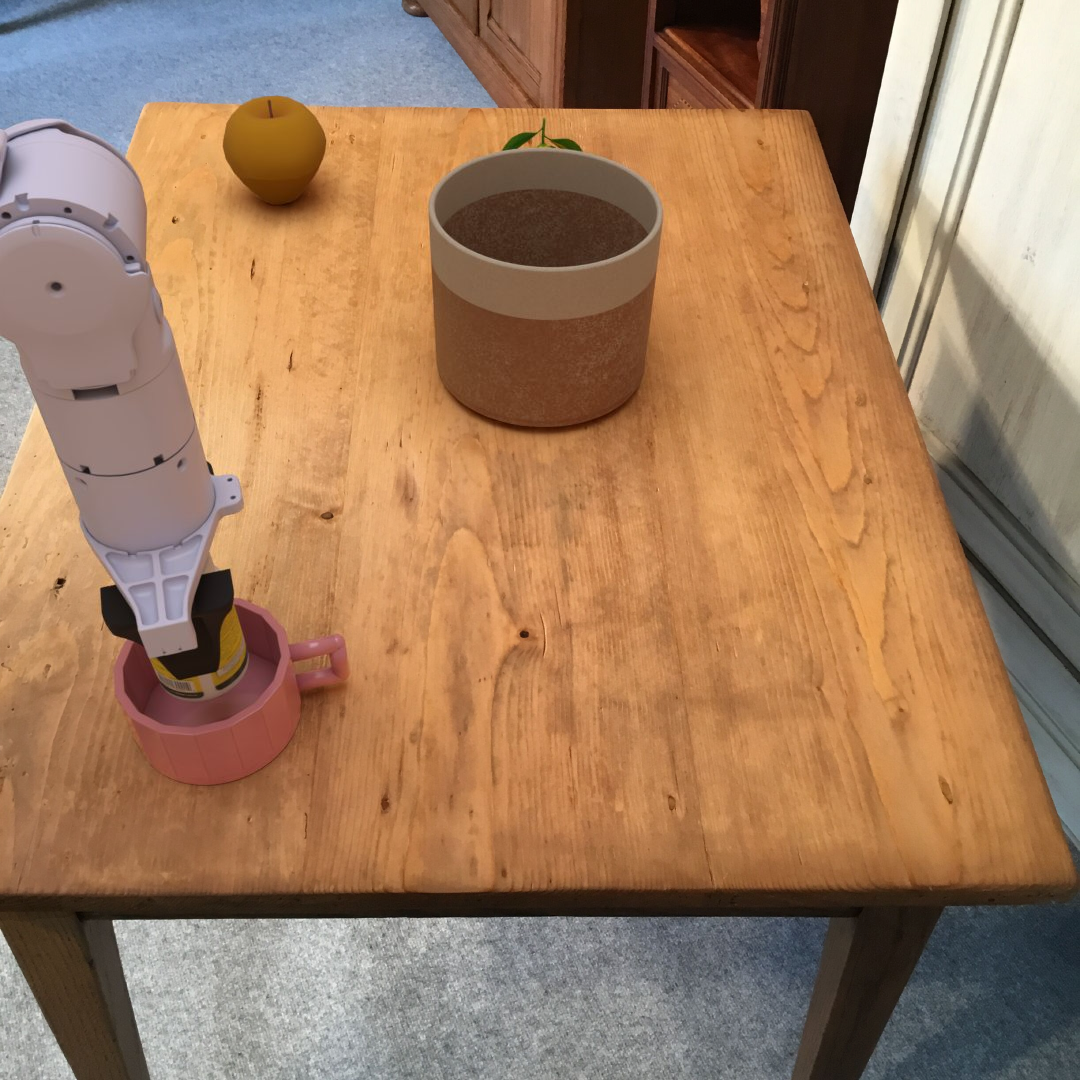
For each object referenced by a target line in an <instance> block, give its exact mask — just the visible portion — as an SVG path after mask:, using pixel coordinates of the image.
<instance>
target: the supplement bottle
mask: <svg viewBox="0 0 1080 1080" xmlns="http://www.w3.org/2000/svg"><path fill="white" fill-rule="evenodd" d="M220 570H221V569H220V568H219V567H218V566H216V565H215V563H214V560H213V558H212V555H211V552H210V551H209V554H208V557H207V560H206V563H205V566H204V569H203V572H202V574H206V573H211V572H216V571H220ZM150 661H151V663H152V666H153V668H154V670H155V673H156V675H157V678H158V680H159V682H160V684H161V686H162V687H163V689H164V690H165V691H166V692H167V693H168V694H170V695H171V696H173V697H175V698H177V699H179V700H182V701H187V702H203V701H208V700H211V699H214V698H217V697H219V696H221V695H223V694H225V693H227V692H228V691H230V690H231V689H233V688H234V687H235V686H236V685H237V684H238V683H239V682H240V681H241V679H242V678H243V677H244V675H245V673H246V670H247V667H248V662H249V656H248V650H247V645H246V642H245V639H244V636H243V633H242V629H241V626H240V622H239V619H238V616H237V612H236V609H235V606H234V602H233V606H232V610H231V611H230V612H229V614H228V615H227V616H226V618H225V620H224V622H223V624H222V627H221V632H220V665H219V669H218V671H217V672H214V673H210V674H205V675H201V676H197V677H192V678H188V679H183V680H178V679H176V678H175V677H174V676H173V675H172V674H171V673H170V672H169V671H168V670H167V669H166V668H165V667H164V666H163V665H162V664H161V663H160V662H159V660H158V659H157V658H156V657H155V658H150Z"/></svg>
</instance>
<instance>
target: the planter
mask: <svg viewBox="0 0 1080 1080" xmlns="http://www.w3.org/2000/svg"><path fill="white" fill-rule="evenodd" d="M427 206H428V211H427V212H428V229H429V244H430V245H429V247H430V248H429V250H430V268H431V269H430V270H431V285H432V304H433V305H432V306H433V322H434V323H433V325H434V344H435V361H436V362H435V363H436V368H437V372H438V375H439V377H440V380H441V381H442V383H443V385H444V386H445V387H446V389H447V390H448V391H449V393H450V394H451V395H452V396H453V397H455V399H457V400H458V401H459V402H460V403H462V404H463V405H464V406H466V407H468V408H469V409H471V410H472V411H475V412H476V413H478V414H480V415H482V416H485V417H487V418H490V419H492V420H496V421H499V422H502V423H507V424H510V425H514V426H515V425H516V426H520V427H521V426H523V427H529V428H530V427H532V428H555V427H566V426H567V427H568V426H572V425H573V426H574V425H578V424H583V423H585V422H589V421H592V420H595V419H597V418H601V417H603V416H604V415H607V414H609V413H610V412H613V411H614V410H616V409H617V408H618V407H620V406H622V405H623V404H624V403H625V402H626V401H628V399H630V398H631V396H632V395H633V394H634V393H635V391H636V390H638V387H639V385H640V384H641V382H642V380H643V377H644V374H645V368H646V360H647V353H648V345H649V337H650V327H651V319H652V310H653V303H654V297H655V296H654V295H655V288H656V278H657V270H658V265H659V264H658V262H659V255H660V247H661V238H662V231H663V220H664V208H663V203H662V200H661V198H660V196H659V194H658V193H657V191H656V190H655V188H654V187H653V186H652V185H651V184H650V182H648V181H647V180H646V179H645V178H644V177H643V176H642V175H640V174H638V173H637V172H636V171H634V170H633V169H631V168H629V167H627V166H625V165H623V164H621V163H619V162H617V161H615V160H612V159H609V158H607V157H604V156H601V155H597V154H593V153H589V152H584V151H583V152H581V151H575V150H568V149H560V148H558V147H556V148H532V147H521V148H518V149H512V150H505V151H502V150H500V151H495V152H491V153H488V154H484V155H480V156H477V157H475V158H473V159H470V160H468V161H466V162H464V163H462V164H459V165H458V166H456V167H455V168H453V169H452V170H450V171H449V172H448V173H446V174H445V175H444V176H443V177H442V178H441V179H440V180H439V181H438V182H437V184H435V186H434V187H433V189H432V191H431V193H430V196H429V199H428V205H427Z"/></svg>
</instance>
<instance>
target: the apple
mask: <svg viewBox="0 0 1080 1080" xmlns="http://www.w3.org/2000/svg"><path fill="white" fill-rule="evenodd" d="M326 149H327V137H326V133H325V131H324V129H323V127H322V124H321V123H320V122H319V120H318V118H317V116H316V115H315V114H314V113H313V112H312V111H311V110H310V109H308V107H306V105H305V104H304V103H302V102H299V101H298V100H295V99H293V98H291V97H289V96H283V95H265V96H260V97H255V98H252V99H250V100H248V101H246V102H244V103H243V104H241V105H239V106H238V107H237V108H236V110H234V111H233V113H231V115H230V116H229V118H228V119H227V121H226V123H225V129H224V133H223V139H222V150H223V154H224V158H225V160H226V162H227V164H228V165H229V167H230V169H231V171H232V172H233V174H234V175H235V176H236V177H237V178H238V180H240V182H241V183H242V184H243V185H244V187H246V188H247V189H248V190H249V191H250V192H251V193H252V194H254V195H255V196H256V197H257V198H258V199H260V200H261V201H262V202H265V203H268V204H270V205H274V206H280V205H281V206H282V205H285V204H288V203H291V202H294V201H295V200H297V199H298V198H299V197H300V196H301V195H302V194H303V193H304V192H305V190H307V188H308V187H309V185H310V184H311V182H312V181H313V179H314V177H315V176H316V174H317V173H318V171H319V169H320V167H321V164H322V162H323V160H324V158H325V153H326Z"/></svg>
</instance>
